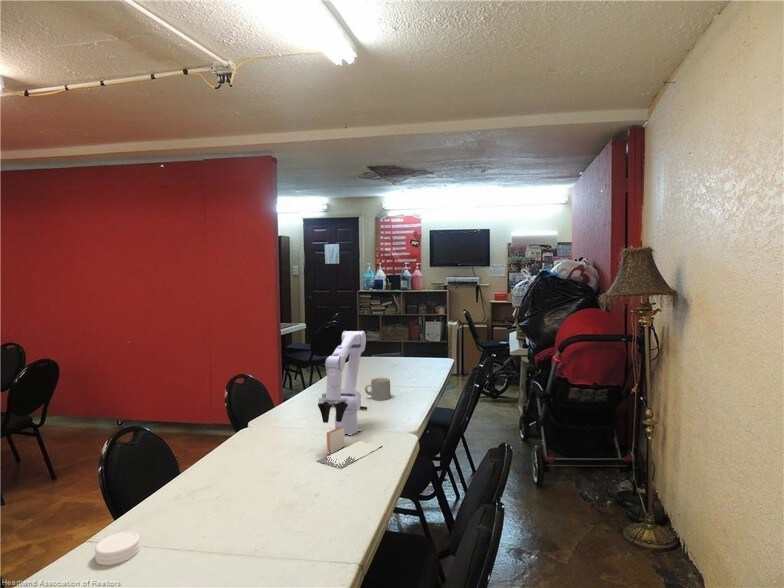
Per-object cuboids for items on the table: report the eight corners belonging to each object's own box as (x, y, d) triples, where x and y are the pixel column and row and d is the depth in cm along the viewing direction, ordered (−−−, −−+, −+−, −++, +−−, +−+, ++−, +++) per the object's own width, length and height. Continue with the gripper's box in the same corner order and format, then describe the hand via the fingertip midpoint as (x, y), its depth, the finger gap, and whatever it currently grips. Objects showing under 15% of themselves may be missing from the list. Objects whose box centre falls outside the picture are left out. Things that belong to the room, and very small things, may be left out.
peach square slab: (327, 453, 184) (326, 432, 183) (341, 446, 190) (340, 426, 190) (330, 454, 183) (329, 433, 182) (344, 447, 189) (344, 427, 189)
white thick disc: (86, 562, 120) (85, 548, 120) (121, 540, 129) (120, 527, 129) (115, 570, 116) (114, 556, 116) (149, 547, 126) (148, 534, 125)
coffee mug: (391, 395, 261) (391, 377, 260) (389, 400, 251) (388, 381, 250) (367, 395, 262) (366, 377, 262) (364, 400, 252) (363, 382, 252)
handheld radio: (325, 405, 248) (368, 409, 237) (321, 407, 245) (365, 411, 234) (324, 392, 247) (367, 396, 237) (320, 394, 244) (364, 398, 234)
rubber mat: (316, 461, 176) (316, 460, 176) (359, 440, 195) (359, 440, 195) (341, 469, 169) (341, 468, 169) (382, 446, 188) (382, 445, 188)
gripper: (328, 386, 182) (326, 423, 179) (353, 387, 193) (352, 422, 190) (315, 386, 186) (313, 422, 183) (340, 386, 197) (338, 420, 195)
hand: (332, 422), depth 187 cm, fingers open, 7 cm apart
